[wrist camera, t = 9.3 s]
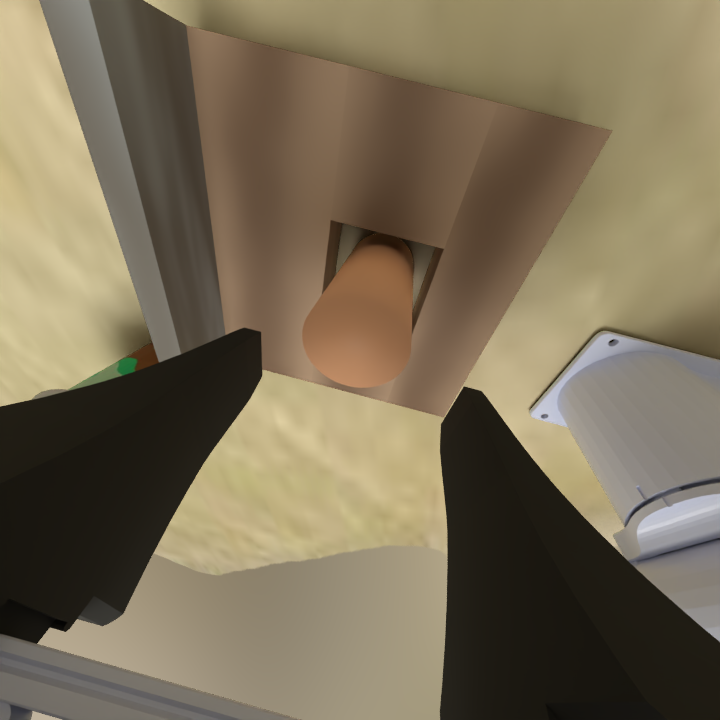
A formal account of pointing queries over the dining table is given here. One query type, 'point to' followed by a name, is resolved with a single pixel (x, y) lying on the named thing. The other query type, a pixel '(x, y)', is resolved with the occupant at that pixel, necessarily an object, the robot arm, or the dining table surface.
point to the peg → (364, 316)
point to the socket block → (306, 187)
